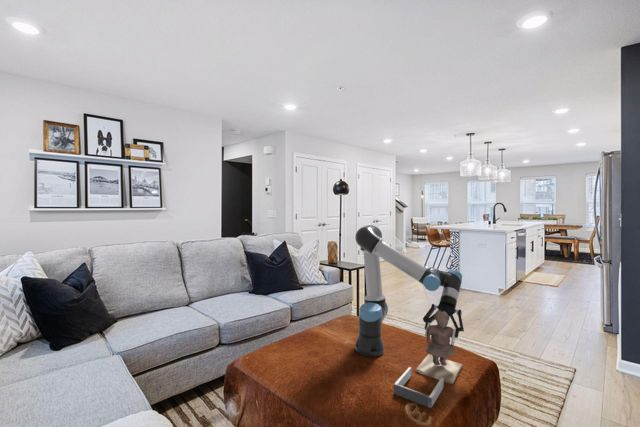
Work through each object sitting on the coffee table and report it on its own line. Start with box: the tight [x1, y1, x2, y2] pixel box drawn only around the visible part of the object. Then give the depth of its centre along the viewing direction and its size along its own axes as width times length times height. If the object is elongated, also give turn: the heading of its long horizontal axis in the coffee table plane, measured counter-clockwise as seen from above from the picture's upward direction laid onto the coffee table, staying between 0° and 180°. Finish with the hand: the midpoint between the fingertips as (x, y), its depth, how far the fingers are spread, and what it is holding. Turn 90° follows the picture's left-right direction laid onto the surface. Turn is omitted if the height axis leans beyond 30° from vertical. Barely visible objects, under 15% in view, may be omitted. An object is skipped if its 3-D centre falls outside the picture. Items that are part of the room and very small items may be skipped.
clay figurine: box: [425, 310, 456, 366], centre depth 149 cm, size 13×10×25 cm
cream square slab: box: [415, 353, 463, 385], centre depth 149 cm, size 16×18×2 cm
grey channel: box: [393, 366, 445, 409], centre depth 132 cm, size 15×17×4 cm
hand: (438, 340), depth 147 cm, fingers closed on clay figurine, 11 cm apart
